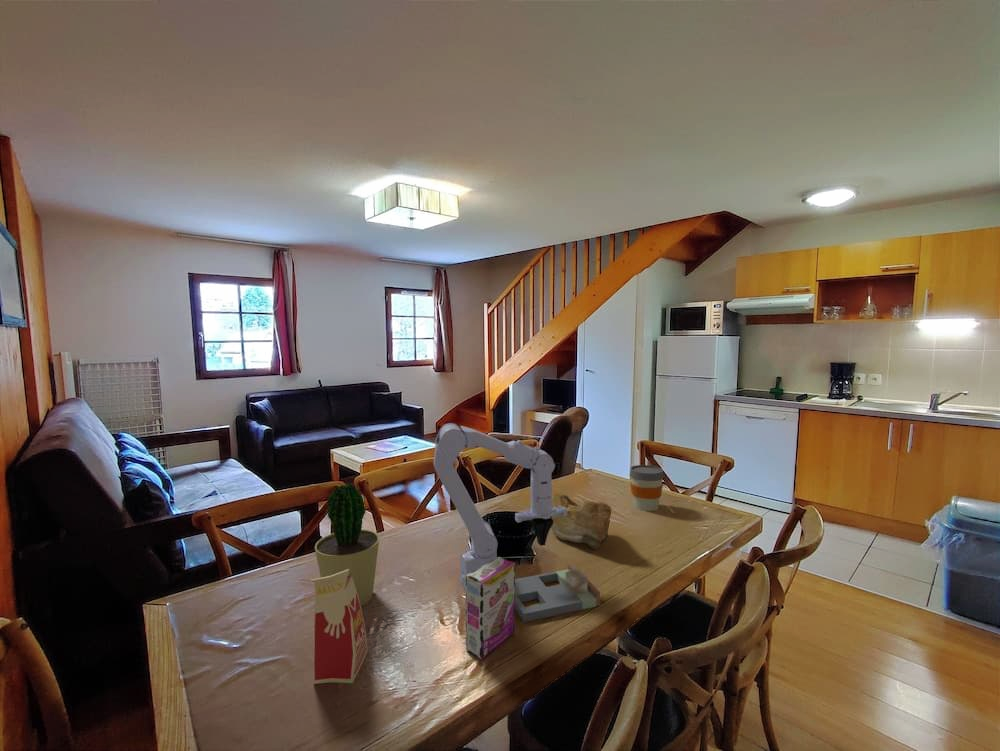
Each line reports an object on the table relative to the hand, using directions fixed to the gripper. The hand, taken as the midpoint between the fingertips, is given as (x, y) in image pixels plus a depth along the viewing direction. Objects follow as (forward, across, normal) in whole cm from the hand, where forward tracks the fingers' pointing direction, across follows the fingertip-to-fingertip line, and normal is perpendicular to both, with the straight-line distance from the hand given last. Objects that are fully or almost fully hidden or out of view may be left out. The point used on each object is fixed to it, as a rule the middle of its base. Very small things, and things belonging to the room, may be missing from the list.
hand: (541, 543), depth 122 cm
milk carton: (+10, -52, -18) cm, 56 cm away
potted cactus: (+10, -50, +7) cm, 51 cm away
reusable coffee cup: (+10, +60, +35) cm, 70 cm away
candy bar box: (+10, -21, -21) cm, 31 cm away
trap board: (+9, -2, -10) cm, 14 cm away
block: (+7, +4, -12) cm, 15 cm away
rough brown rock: (+10, +24, +17) cm, 31 cm away
